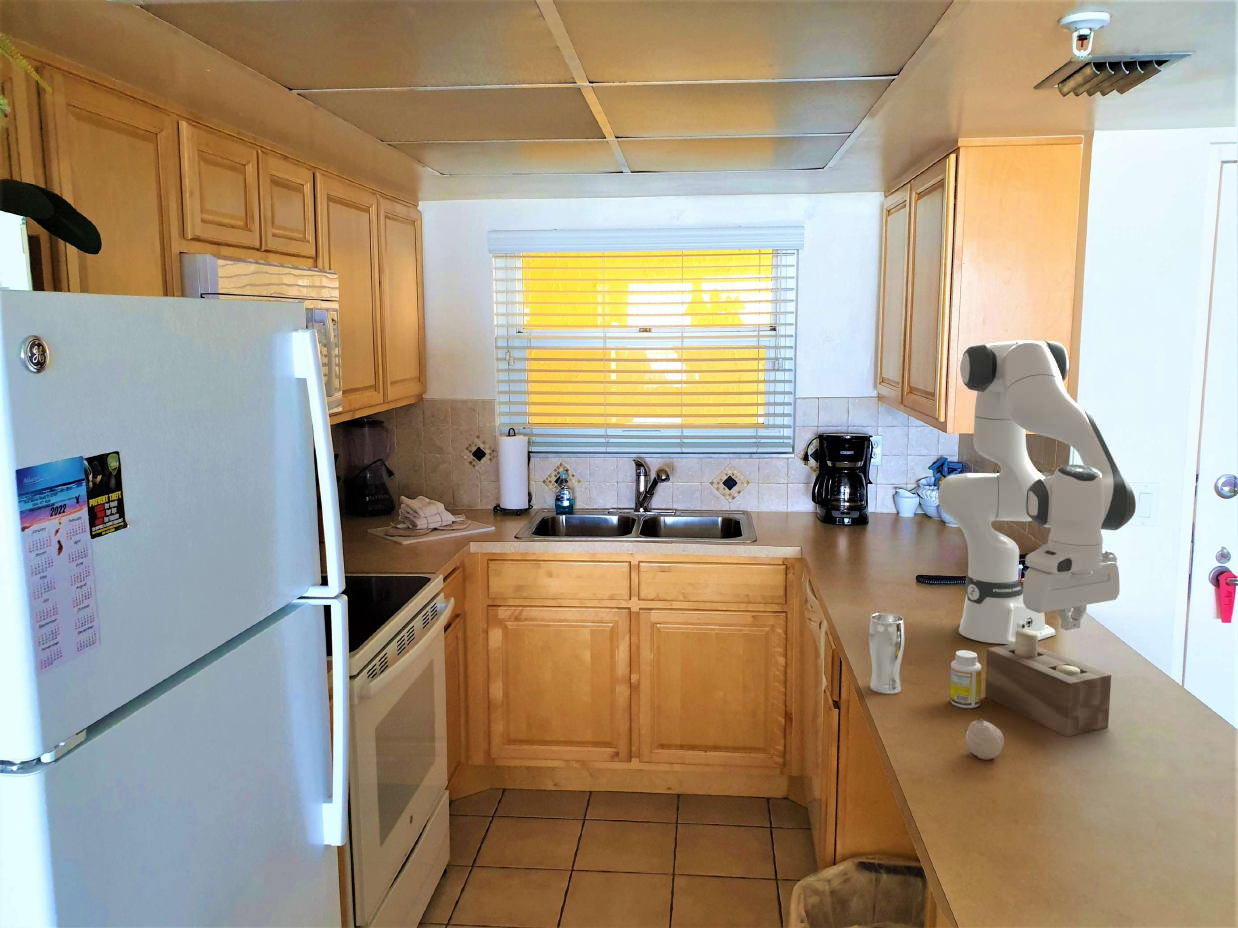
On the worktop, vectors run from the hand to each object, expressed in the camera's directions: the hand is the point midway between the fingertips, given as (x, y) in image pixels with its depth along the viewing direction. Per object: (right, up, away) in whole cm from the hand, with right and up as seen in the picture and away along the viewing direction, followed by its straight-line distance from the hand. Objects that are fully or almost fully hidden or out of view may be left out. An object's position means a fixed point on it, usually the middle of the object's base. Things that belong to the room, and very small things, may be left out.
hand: (1070, 628), depth 169 cm
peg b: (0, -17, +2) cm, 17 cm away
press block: (-2, -17, +7) cm, 19 cm away
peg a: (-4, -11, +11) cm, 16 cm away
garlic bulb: (-20, -20, -11) cm, 31 cm away
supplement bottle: (-15, -17, +11) cm, 25 cm away
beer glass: (-28, -16, +19) cm, 38 cm away
